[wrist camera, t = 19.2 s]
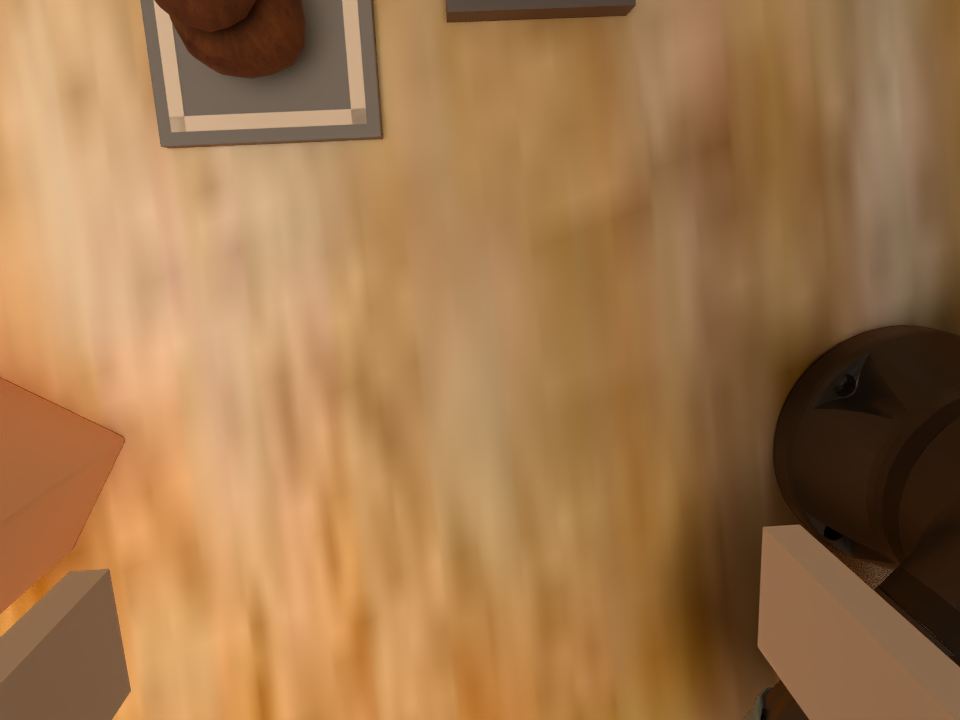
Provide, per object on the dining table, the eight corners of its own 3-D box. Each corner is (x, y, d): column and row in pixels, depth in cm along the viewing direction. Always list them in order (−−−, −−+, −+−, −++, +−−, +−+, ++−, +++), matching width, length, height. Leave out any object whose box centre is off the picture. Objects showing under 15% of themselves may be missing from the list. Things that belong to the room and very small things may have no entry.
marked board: (365, -97, 37) (362, -108, 35) (382, 138, 39) (380, 136, 38) (136, -89, 36) (125, -100, 35) (169, 148, 39) (160, 146, 38)
